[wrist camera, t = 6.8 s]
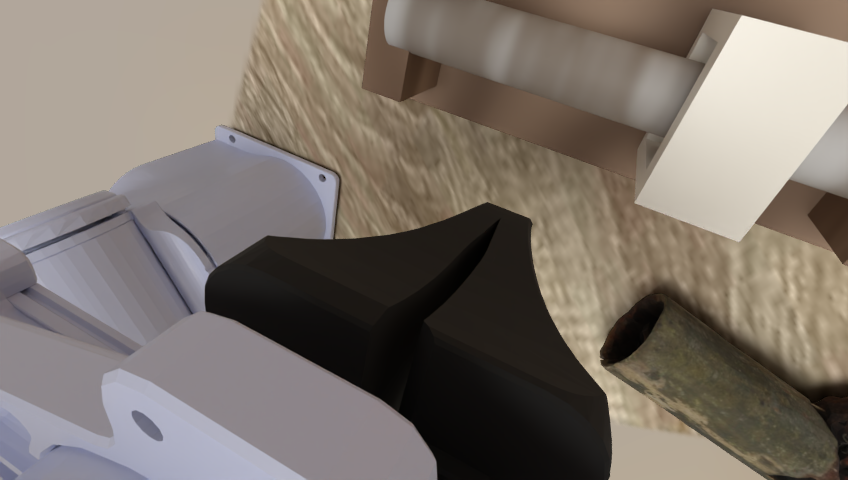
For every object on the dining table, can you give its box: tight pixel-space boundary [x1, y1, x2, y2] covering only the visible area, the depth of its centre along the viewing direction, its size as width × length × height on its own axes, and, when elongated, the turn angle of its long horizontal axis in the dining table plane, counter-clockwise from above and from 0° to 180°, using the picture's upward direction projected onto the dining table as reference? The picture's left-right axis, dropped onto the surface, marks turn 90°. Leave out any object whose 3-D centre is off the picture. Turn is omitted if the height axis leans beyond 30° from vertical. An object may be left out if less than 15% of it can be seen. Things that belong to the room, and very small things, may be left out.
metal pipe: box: [600, 293, 848, 480], centre depth 19 cm, size 18×7×6 cm, turn 64°
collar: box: [634, 9, 848, 242], centre depth 13 cm, size 3×5×6 cm, turn 167°
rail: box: [362, 0, 848, 266], centre depth 15 cm, size 20×8×5 cm, turn 77°
